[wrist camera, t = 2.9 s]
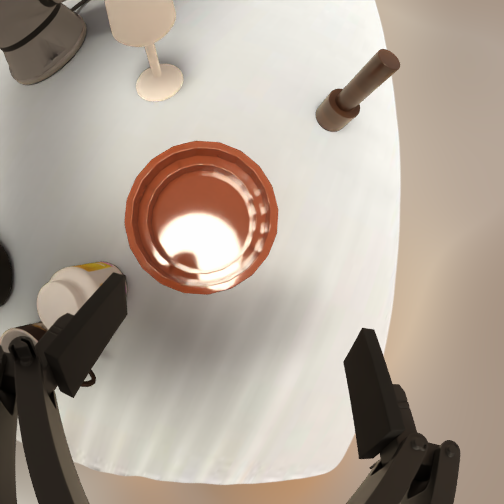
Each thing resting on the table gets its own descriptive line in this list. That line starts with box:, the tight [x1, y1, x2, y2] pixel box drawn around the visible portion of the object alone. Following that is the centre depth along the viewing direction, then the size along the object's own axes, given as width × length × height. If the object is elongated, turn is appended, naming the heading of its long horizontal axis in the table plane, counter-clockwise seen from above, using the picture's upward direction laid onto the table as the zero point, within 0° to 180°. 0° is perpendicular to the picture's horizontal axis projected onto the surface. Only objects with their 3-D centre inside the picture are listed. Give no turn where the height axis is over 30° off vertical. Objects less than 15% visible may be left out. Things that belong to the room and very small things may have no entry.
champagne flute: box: [104, 0, 183, 102], centre depth 21 cm, size 7×7×24 cm
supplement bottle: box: [37, 262, 127, 329], centre depth 26 cm, size 7×7×13 cm
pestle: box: [316, 49, 400, 132], centre depth 28 cm, size 4×4×16 cm
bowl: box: [125, 141, 278, 294], centre depth 31 cm, size 16×16×6 cm
